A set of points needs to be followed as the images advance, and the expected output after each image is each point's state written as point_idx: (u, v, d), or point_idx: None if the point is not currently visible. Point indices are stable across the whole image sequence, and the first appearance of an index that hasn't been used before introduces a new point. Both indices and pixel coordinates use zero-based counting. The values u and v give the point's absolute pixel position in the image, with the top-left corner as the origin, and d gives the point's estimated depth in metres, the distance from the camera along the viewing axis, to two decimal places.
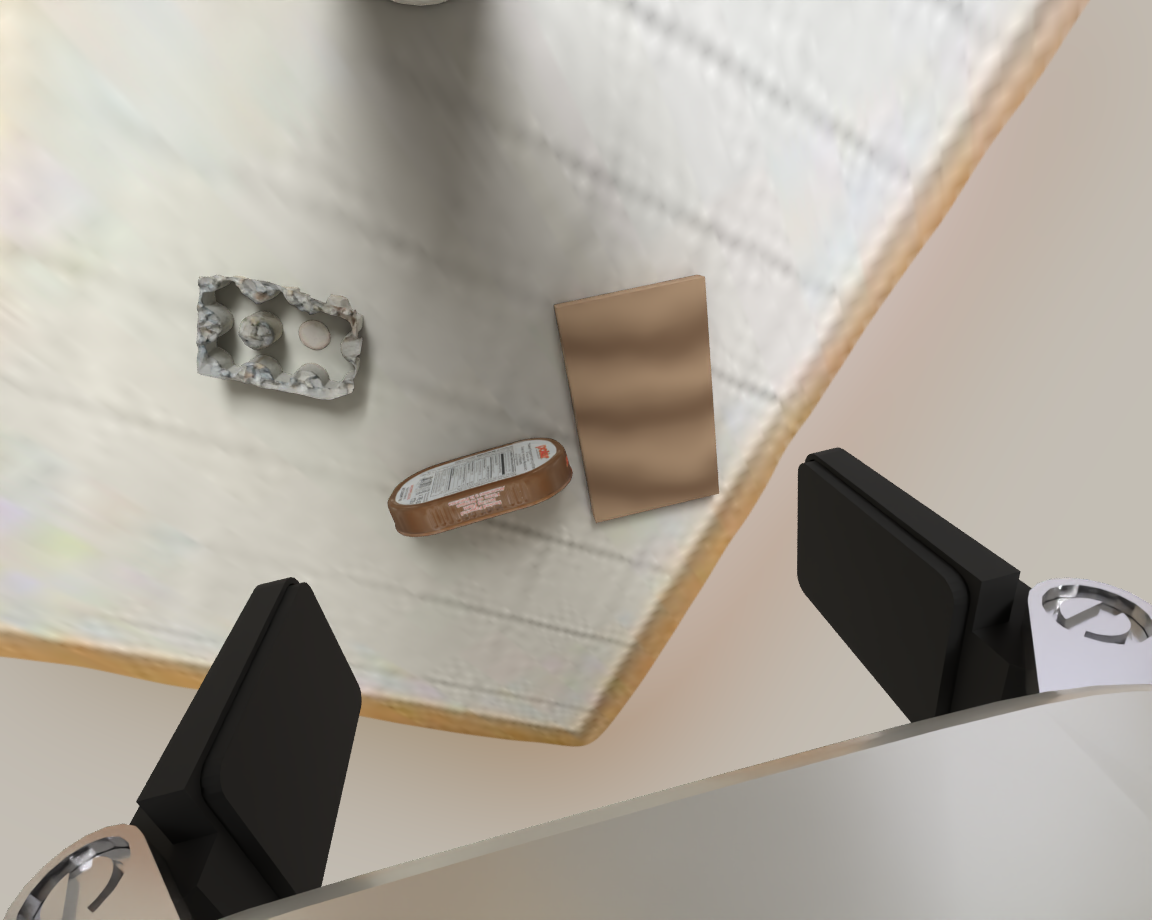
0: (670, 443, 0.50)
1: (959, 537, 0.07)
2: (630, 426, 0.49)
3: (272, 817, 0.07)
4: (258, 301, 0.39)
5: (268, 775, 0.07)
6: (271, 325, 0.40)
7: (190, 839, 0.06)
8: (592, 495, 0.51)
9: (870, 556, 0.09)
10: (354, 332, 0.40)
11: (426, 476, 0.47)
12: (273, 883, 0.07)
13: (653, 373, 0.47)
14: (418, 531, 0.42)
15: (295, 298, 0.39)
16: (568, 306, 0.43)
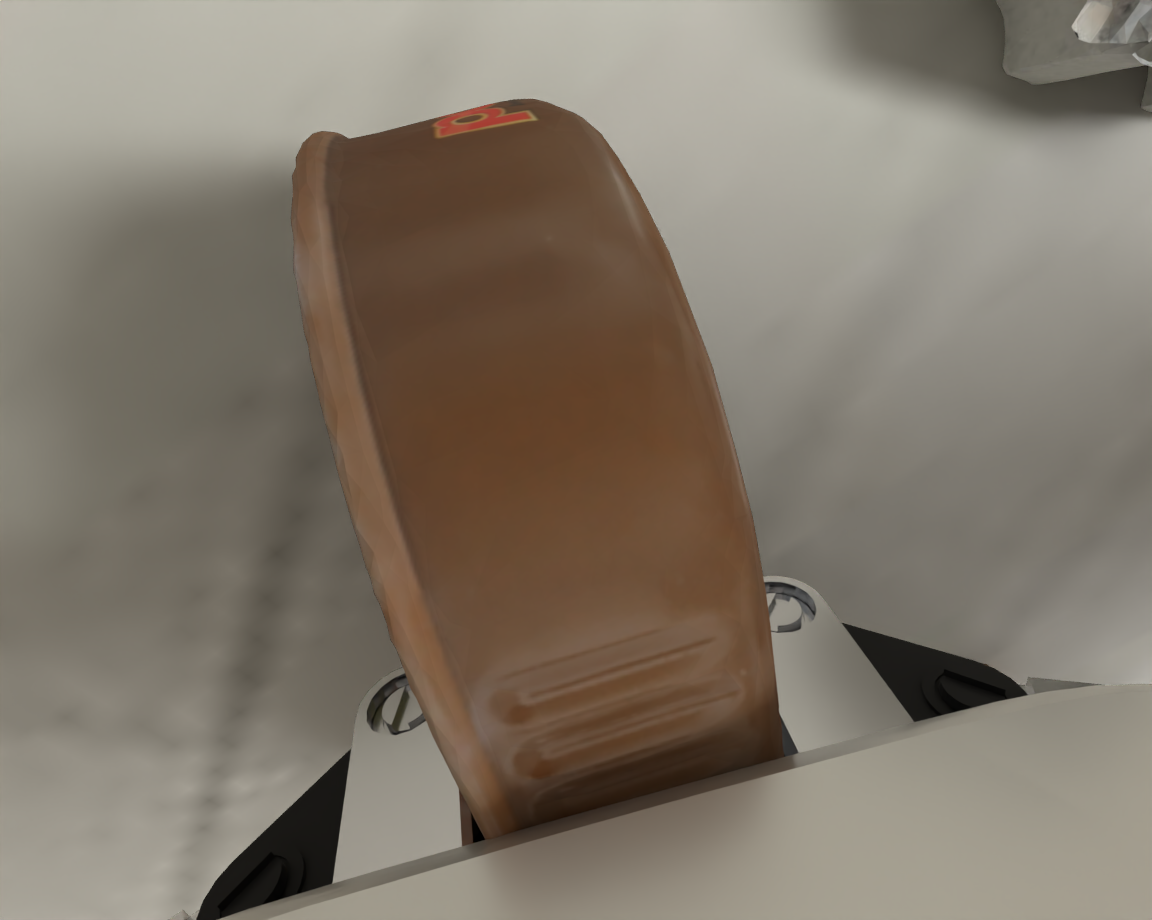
0: None
1: None
2: None
3: None
4: None
5: None
6: None
7: None
8: None
9: None
10: None
11: None
12: None
13: None
14: (427, 510, 0.03)
15: None
16: None
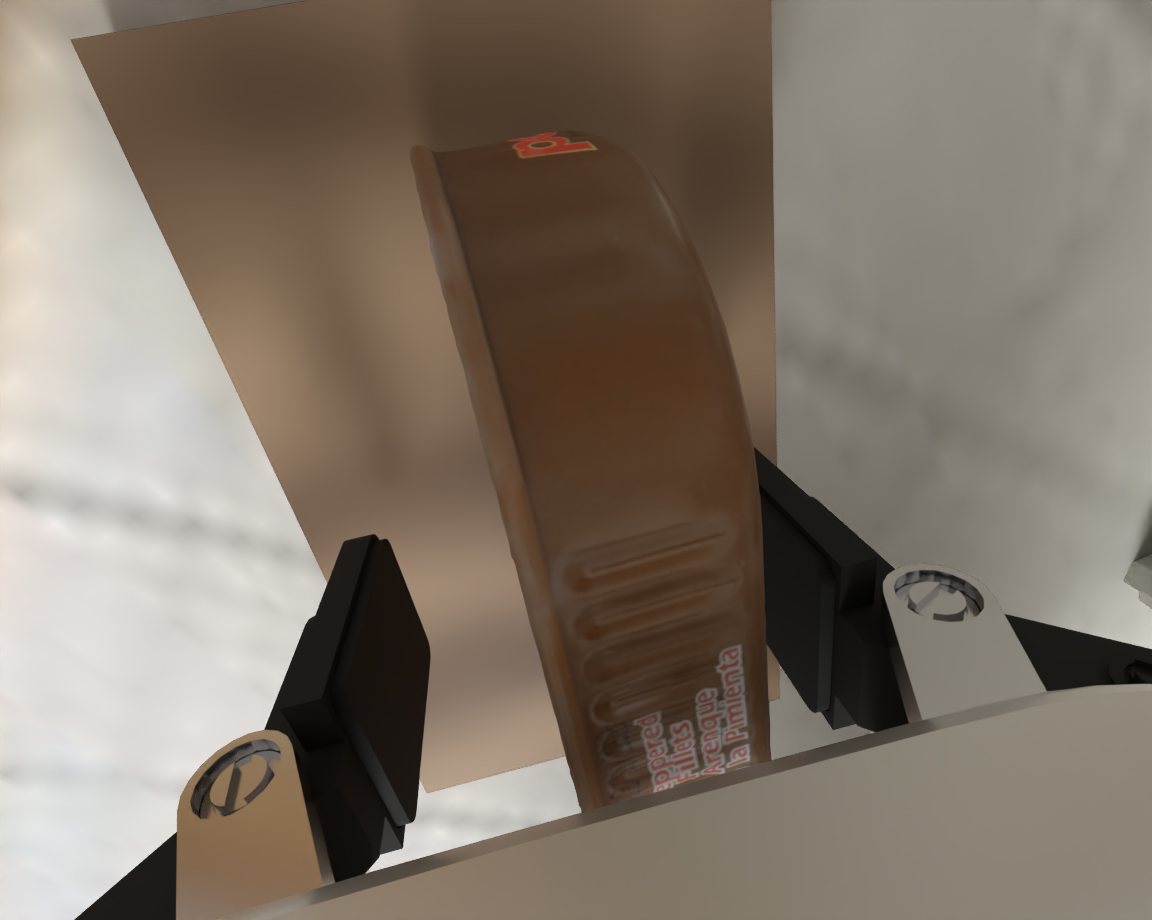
0: (434, 359, 0.12)
1: (833, 527, 0.08)
2: None
3: (382, 736, 0.08)
4: None
5: (376, 700, 0.08)
6: None
7: (322, 746, 0.07)
8: (766, 117, 0.11)
9: (766, 546, 0.09)
10: None
11: None
12: (383, 795, 0.08)
13: None
14: (531, 425, 0.05)
15: None
16: None
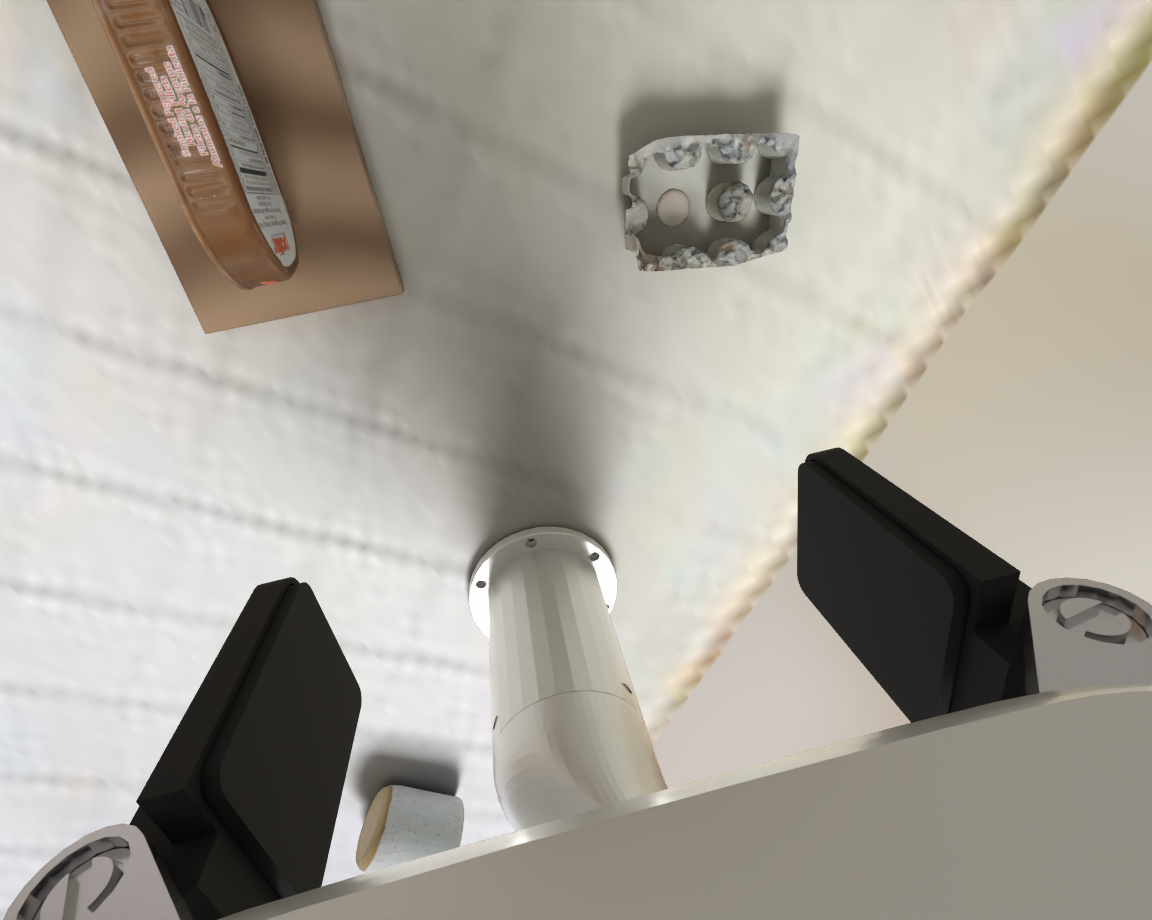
0: None
1: (959, 537, 0.07)
2: (251, 97, 0.30)
3: (272, 817, 0.07)
4: (733, 242, 0.36)
5: (268, 775, 0.07)
6: (720, 215, 0.36)
7: (190, 839, 0.06)
8: None
9: (870, 556, 0.09)
10: (637, 242, 0.35)
11: (207, 19, 0.27)
12: (273, 883, 0.07)
13: None
14: None
15: (698, 259, 0.36)
16: (385, 296, 0.35)
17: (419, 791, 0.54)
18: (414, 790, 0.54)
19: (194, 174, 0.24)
